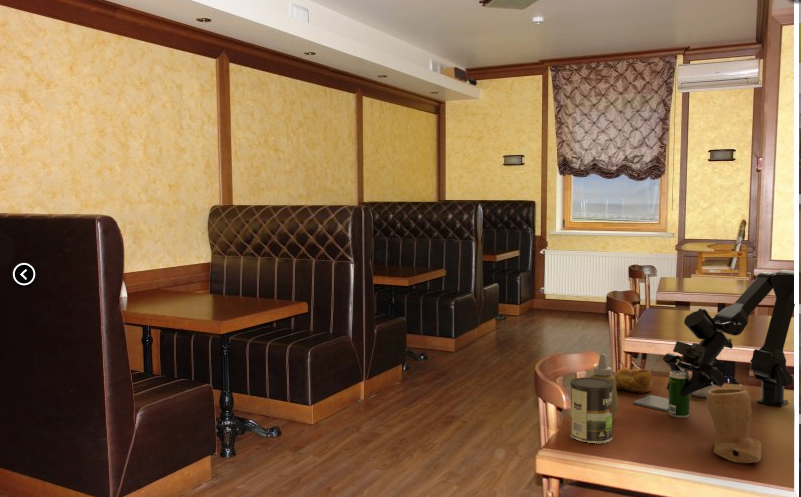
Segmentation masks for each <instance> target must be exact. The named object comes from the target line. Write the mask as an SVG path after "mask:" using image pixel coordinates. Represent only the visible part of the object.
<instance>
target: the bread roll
mask: <svg viewBox="0 0 801 497" xmlns="http://www.w3.org/2000/svg"><path fill="white" fill-rule="evenodd" d="M613 376H614V377H615V382H616V390H620V389H621V391H628V392H630V391H631V393H635V392H638V393H639V394H642V393H643V394H644V393H647V392H649V391H651V389H652V385H653V383H652V378H653V377H652V372H651V371H650V370H649V369H647V368H633V369H631V368H629V367H625V366H624V367H621V368H619V369H618V370H617V371H616V373H615V375H613Z"/></svg>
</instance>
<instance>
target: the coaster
mask: <svg viewBox="0 0 801 497" xmlns="http://www.w3.org/2000/svg"><path fill="white" fill-rule="evenodd" d="M633 404H634V405H638V406H643V407H645V408H650V409H655V410H659V411H660V410H661V411H664V412H669V398H666V397H663V396H659V395H658V396H657V395H653V394H648V395H646V396H644V397H642V398H641V397H640V398H639V399H636V400H634V401H633Z"/></svg>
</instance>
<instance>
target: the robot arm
mask: <svg viewBox="0 0 801 497" xmlns="http://www.w3.org/2000/svg"><path fill="white" fill-rule="evenodd" d="M794 271H795V270H789V269H780V270H779V271H777V272H769V271H768V272H767V271H762V272H759V273H758V274H757V276H756V279H755V280H754V281H753V282H752V283H751V284H750V285H749V287H747V289H746V290H744V292H743V293H742V294H741V295H740V296H739V297H738V299H737V300H736V301H735V302H734V303H733V304H731V305H729V306H726V307H724V308H722V309H721V310H720V311H718V312H717V313H716V314H715V315H714V316H711V315H710V314H709V313H708V311H707V310H706V309H705V308H698V309H697V310H696V311H693V312H691V313H690V314H688V315H686V316H685V318H684V322H683V325H685V327H686V328H687V329H688V330H689V331H690V332H691V333H692V335H693V336H694V337H695V338H696V339H698V340H700V341H699V343H697V342H693V343H692V344H689V343H687V342H683V341H678V340H676V342H675V345H674V347H673V349H672V352H674V353H677V354H674V353H666V354H664V356H663V358H662V360H663V361H664V362H665V364H666V365H667V366H668V367H670V369H671V370H670V371H676V370H677V371H685V372H689V371H691V372H692V378H691V379H690V381H689V382H688V384H687V385H686V387H685V388H684V390H683V391H682V393H681V394H682V395H683V396H686V395H689V394H690V395H692V394H691V393H693V392H695V391H697V390H700V389H703V388H705V387H708V386H712V384H711V382H713V384H714V385H716V386H717V387H720V388H722V387H723V385H725V383H726V376H725V375H724V374H723V373H722V372H721V371H720V370H719V368H718V367H717V366H714V365H712V364H718V362H719V359H717V357H718V356H719V355H720V354H721V353H722V351H723V350H724V348H727V349H731V350H732V349H733V342H732V341H733V340H732V338H731V337H730V338H729V337H727V336H726V335H730V336H740V335H741V333H743V332H744V330H745V328H746V327H747V325H748V324H749V316H750V315H751V314H752V312H753V311H755V309H756V308H757V307H758V306H759V304H761V302H762V301H763V300H764V299H765V298H766V297H767V296H768V295H769V293H771V291H772V290H773V292H774V295H775V302H774V305H773V309H772V313H771V317H770V320H769V325H768V328H767V332H766V336H765V340H764V342H763V345H762V346H761V347H760V348H759V349H757V348H754V349H753V352H752V357H751V359H750V361H749V362H750V363H751V365H750V368H751V370H752V372H753V376H754V379H755V380H759V381H761V397H760V398H759V399H757V400H756V402H757V403H760V404H764V405H770V406H774V407H779V408H781V407H783V406H784V405H786V404H788V403H789V400H786V399H785V387H788V386H790V385H792V384H793V381H794V377H793V376H792V374H791V373H790V372H789V371H788V369H786V366H787V359H786V355H785V353H784V348H785V344H786V339H787V336H788V332H789V329H790V325H791V322H792V318H793V317H792V316H793V315H794V314H793V313H794V309H795V306H796V303H795V304H794ZM678 354H680V356H681V357H680V356H679V355H678ZM684 360H685V361H684ZM666 385H667V386H666V390H668V391H669V381H668V382H667V384H666Z"/></svg>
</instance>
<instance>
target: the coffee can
mask: <svg viewBox="0 0 801 497" xmlns="http://www.w3.org/2000/svg"><path fill="white" fill-rule="evenodd" d="M569 384H570V438H571V439H573V438H574V439H576V440H579V441H583V442H588V443H587V444H589V443H595V444H594V445H603V444H606V443H607V442H608V443H610V442H611V441H612V440H613V421H612V387H613V384H612V382H610V381H608V380H604V379H600V378H590V377H577V378H573V379H571V380H570V381H569ZM574 439H573V440H574ZM576 440H575V441H576ZM579 441H578V442H579ZM583 442H582V443H583ZM596 443H597V444H596ZM602 443H603V444H602ZM608 443H607V444H608Z"/></svg>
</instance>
